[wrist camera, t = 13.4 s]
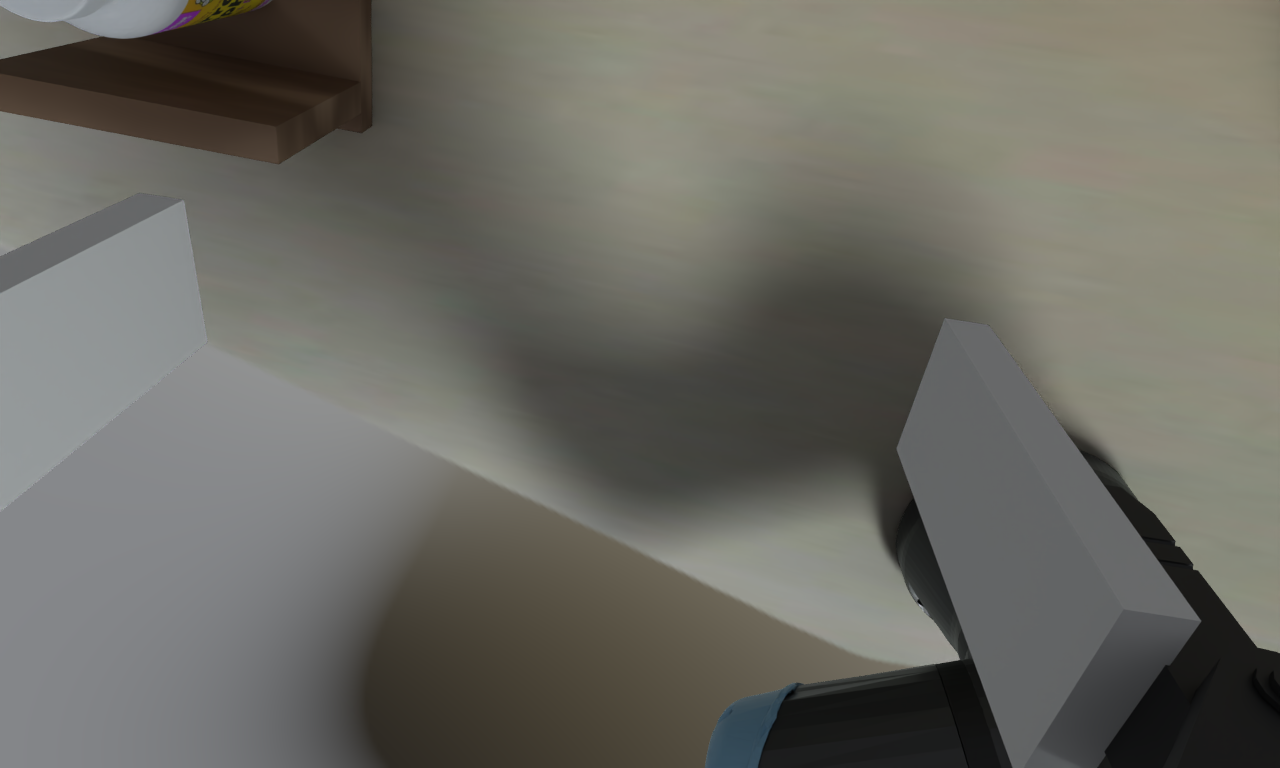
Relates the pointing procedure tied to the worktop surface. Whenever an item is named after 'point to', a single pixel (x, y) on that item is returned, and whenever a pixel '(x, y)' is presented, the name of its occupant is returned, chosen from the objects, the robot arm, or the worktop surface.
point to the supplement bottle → (130, 14)
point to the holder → (212, 80)
